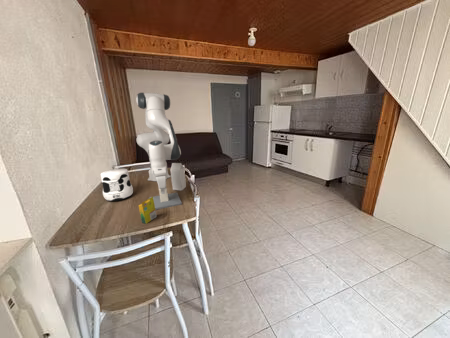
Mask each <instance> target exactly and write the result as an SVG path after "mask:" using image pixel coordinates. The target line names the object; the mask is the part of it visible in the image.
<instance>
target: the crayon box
mask: <svg viewBox="0 0 450 338" xmlns="http://www.w3.org/2000/svg"><path fill="white" fill-rule="evenodd" d="M150 197H151V198H149V197H148V198H147V199H146V200H144V201H142V202H141V203H140V204H138V211H139V215H140V219H141V220H140V221H141V223H142V224H144V225H147V224H148V223H149V222H151V221H152V220H154V219H156V218H157V216H158V215H157V212H156V210H155V205H154V200H153V197H154V196H150Z"/></svg>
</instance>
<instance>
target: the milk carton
mask: <svg viewBox="0 0 450 338" xmlns="http://www.w3.org/2000/svg"><path fill="white" fill-rule="evenodd" d="M169 170H170V176H171V177H170V179H171V185H172V186H171V187H172V191H184V189H185V188H186V187H187V182H186V175H185V167H184V165H183V164H182V162H171V167H170V169H169Z"/></svg>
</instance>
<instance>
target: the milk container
mask: <svg viewBox="0 0 450 338" xmlns="http://www.w3.org/2000/svg"><path fill="white" fill-rule="evenodd" d="M100 179H101V184H102V196H103V198H104V199H105V201H109V202H116V201H117V202H118V201H122V200H125V199H127V198H129V197H130V196H132V195H133V192H134V188H133V185H132V183H131V179H130V175H129V171H128V169H127V168H115V169H114V168H113V169H109V170H105V171H102V172H101V173H100Z"/></svg>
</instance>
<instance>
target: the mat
mask: <svg viewBox="0 0 450 338" xmlns="http://www.w3.org/2000/svg"><path fill="white" fill-rule="evenodd" d="M151 197H153V200H154V205H155V210H157V211H158V210H161V209H166V208H167V209H168V208H171V207H176V206H182V200H181V198H180V196H179V194H178V191H177V192H172V193H168V200H169V201H165V202H161V200H160V195H155V196H150V197H148V199H149V198H151Z"/></svg>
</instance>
